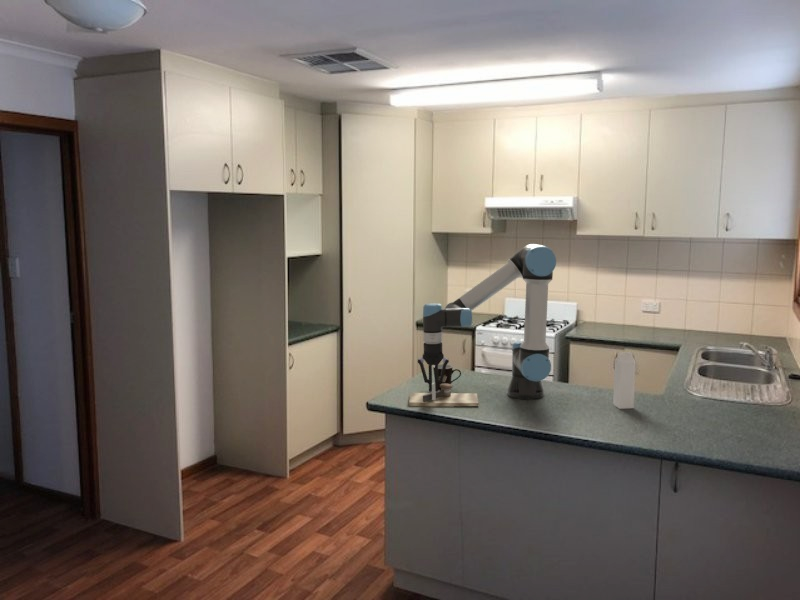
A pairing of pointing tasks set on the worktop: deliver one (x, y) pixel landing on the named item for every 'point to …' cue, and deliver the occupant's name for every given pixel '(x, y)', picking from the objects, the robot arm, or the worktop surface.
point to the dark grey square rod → (439, 392)
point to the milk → (624, 381)
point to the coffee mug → (446, 374)
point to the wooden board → (445, 400)
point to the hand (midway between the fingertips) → (433, 399)
